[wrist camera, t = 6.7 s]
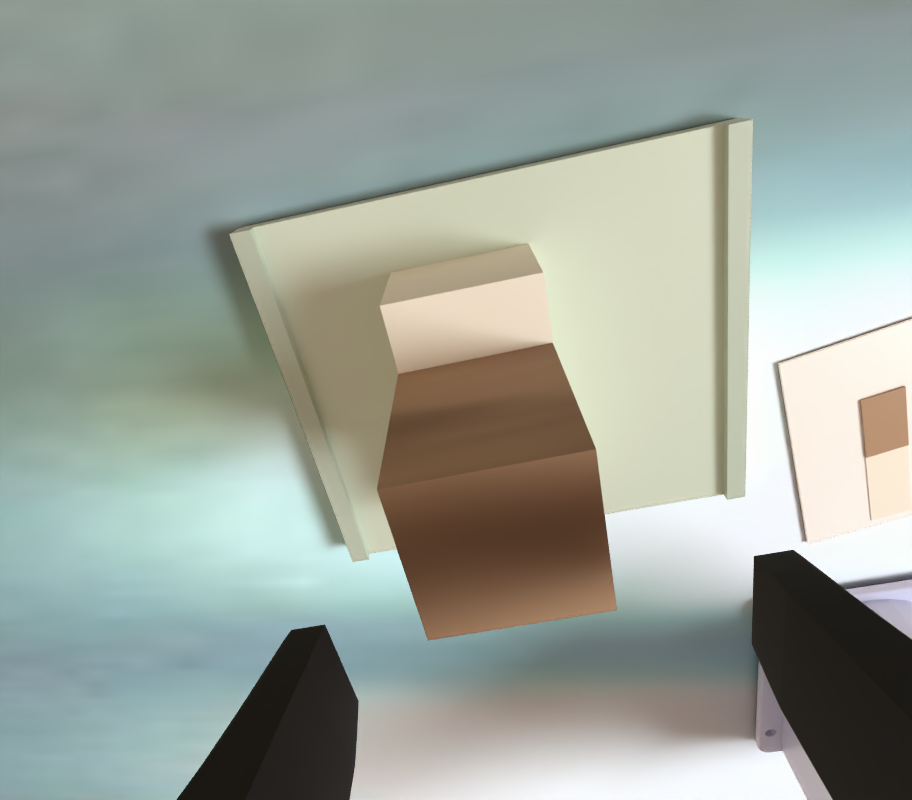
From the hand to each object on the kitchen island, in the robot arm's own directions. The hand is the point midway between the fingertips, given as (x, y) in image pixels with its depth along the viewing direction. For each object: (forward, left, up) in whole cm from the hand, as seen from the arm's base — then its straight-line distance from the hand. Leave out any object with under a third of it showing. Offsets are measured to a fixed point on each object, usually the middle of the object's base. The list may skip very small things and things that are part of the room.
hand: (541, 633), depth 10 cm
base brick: (0, 0, -10) cm, 10 cm away
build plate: (0, 0, -10) cm, 10 cm away
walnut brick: (0, 0, -7) cm, 7 cm away
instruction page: (-5, -13, -10) cm, 17 cm away
